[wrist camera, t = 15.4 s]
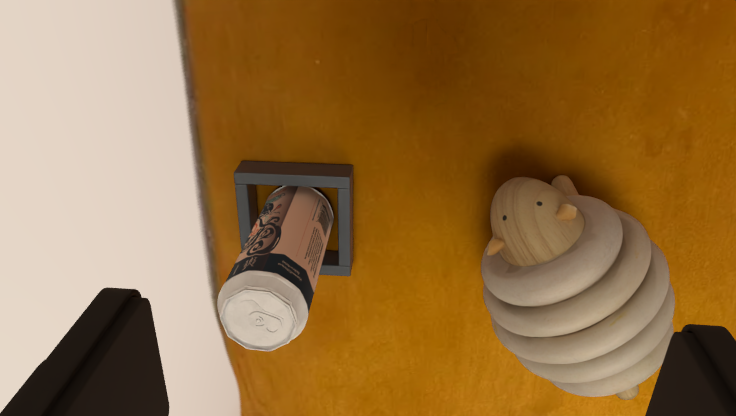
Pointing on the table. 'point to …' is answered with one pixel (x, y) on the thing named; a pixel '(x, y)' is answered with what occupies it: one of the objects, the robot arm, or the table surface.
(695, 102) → the table surface
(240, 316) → the beer can
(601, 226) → the toy sheep
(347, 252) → the holder
